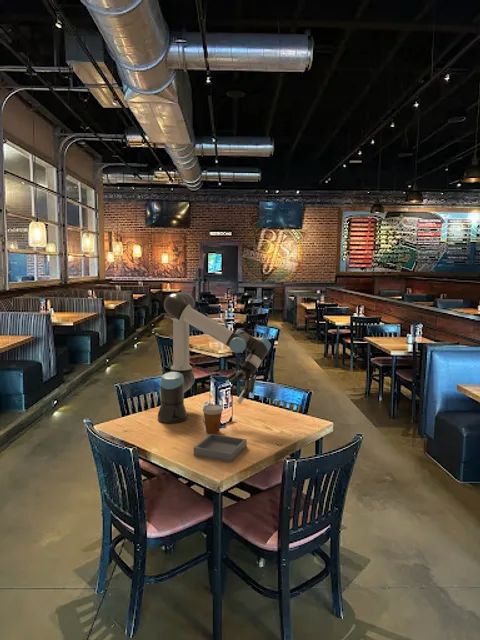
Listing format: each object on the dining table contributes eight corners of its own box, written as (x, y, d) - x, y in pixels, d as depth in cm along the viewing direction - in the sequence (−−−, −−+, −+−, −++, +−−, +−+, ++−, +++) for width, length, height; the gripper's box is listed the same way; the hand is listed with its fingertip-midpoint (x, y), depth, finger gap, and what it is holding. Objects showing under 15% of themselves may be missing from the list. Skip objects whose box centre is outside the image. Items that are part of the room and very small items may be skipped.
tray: (193, 455, 182) (193, 447, 182) (211, 440, 198) (211, 433, 197) (231, 462, 176) (231, 454, 175) (246, 446, 191) (246, 439, 191)
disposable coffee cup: (223, 428, 213) (223, 404, 212) (221, 435, 204) (221, 410, 202) (204, 427, 214) (204, 403, 213) (201, 434, 205) (201, 410, 203)
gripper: (272, 373, 215) (250, 409, 207) (238, 365, 233) (216, 398, 225) (265, 364, 211) (242, 401, 203) (230, 356, 229) (208, 389, 221)
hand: (228, 399), depth 214 cm, fingers open, 13 cm apart
